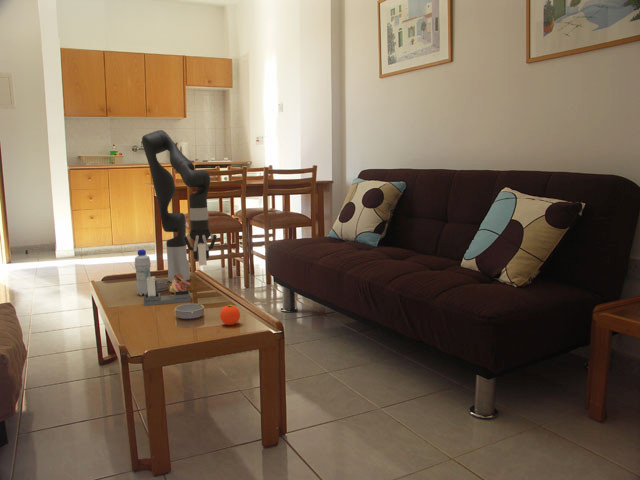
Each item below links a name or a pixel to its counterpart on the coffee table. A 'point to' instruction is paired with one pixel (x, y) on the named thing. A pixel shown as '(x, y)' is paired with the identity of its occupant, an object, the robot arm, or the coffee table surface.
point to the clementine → (230, 315)
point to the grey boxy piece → (155, 297)
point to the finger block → (201, 254)
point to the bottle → (142, 271)
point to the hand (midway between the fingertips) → (201, 259)
